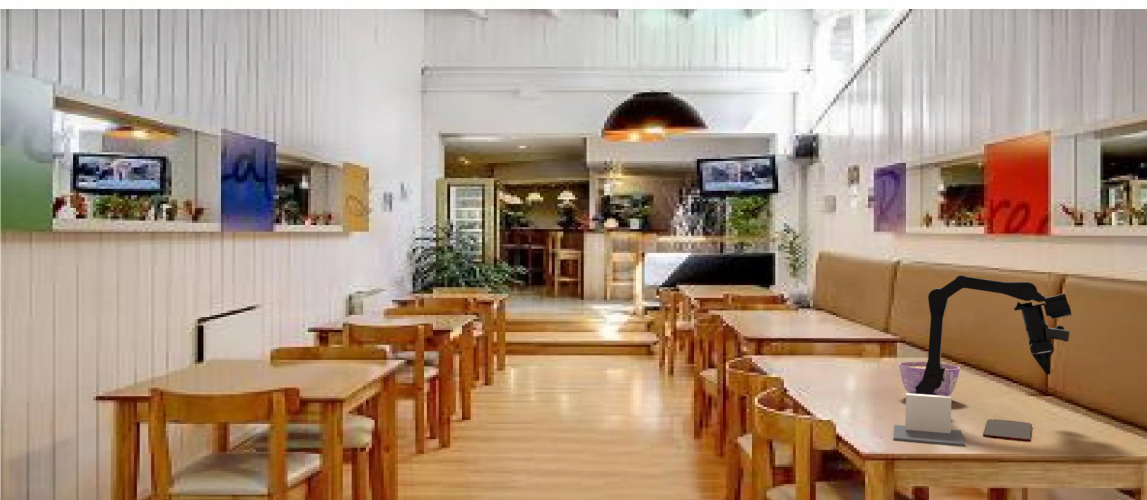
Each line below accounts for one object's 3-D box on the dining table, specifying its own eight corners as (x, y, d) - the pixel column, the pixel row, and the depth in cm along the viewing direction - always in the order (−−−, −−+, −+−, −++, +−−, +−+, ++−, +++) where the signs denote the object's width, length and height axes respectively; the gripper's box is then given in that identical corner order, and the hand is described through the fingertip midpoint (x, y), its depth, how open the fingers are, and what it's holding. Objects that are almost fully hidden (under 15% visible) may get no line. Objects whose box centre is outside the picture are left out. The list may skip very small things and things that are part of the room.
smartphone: (982, 434, 254) (987, 418, 276) (981, 439, 254) (987, 423, 276) (1031, 439, 248) (1032, 422, 270) (1030, 445, 248) (1032, 427, 270)
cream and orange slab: (905, 427, 262) (906, 393, 262) (950, 431, 258) (950, 396, 258) (905, 429, 259) (906, 394, 259) (950, 433, 255) (951, 398, 255)
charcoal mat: (894, 426, 265) (894, 424, 265) (961, 432, 259) (961, 430, 259) (893, 440, 248) (893, 437, 248) (964, 446, 241) (964, 444, 241)
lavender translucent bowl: (969, 404, 305) (970, 370, 304) (909, 403, 305) (910, 369, 305) (945, 394, 325) (946, 362, 324) (889, 393, 325) (890, 361, 325)
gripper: (1065, 319, 264) (1079, 371, 263) (1062, 314, 281) (1075, 364, 280) (1024, 326, 269) (1037, 378, 268) (1023, 321, 286) (1036, 370, 284)
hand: (1048, 372), depth 275 cm, fingers open, 9 cm apart
